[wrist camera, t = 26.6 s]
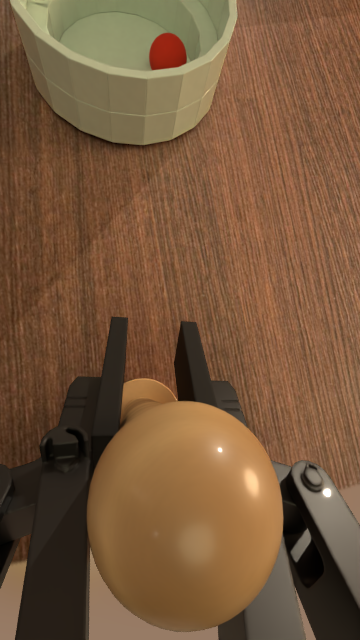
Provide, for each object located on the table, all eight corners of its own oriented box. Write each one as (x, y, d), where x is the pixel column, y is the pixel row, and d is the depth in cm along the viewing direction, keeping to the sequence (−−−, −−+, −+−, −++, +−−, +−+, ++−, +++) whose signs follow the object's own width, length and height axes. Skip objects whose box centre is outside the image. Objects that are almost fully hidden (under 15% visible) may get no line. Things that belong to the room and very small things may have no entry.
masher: (86, 421, 20) (-135, 598, 3) (139, 363, 21) (188, 267, 4) (143, 474, 19) (239, 963, 3) (193, 413, 21) (451, 505, 4)
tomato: (135, 53, 24) (155, 22, 22) (161, 51, 26) (182, 20, 23) (154, 93, 25) (175, 66, 23) (177, 88, 27) (200, 62, 24)
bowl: (-11, 71, 24) (-56, -31, 18) (108, -24, 28) (103, -132, 22) (149, 184, 24) (156, 120, 18) (243, 73, 28) (274, -8, 22)
